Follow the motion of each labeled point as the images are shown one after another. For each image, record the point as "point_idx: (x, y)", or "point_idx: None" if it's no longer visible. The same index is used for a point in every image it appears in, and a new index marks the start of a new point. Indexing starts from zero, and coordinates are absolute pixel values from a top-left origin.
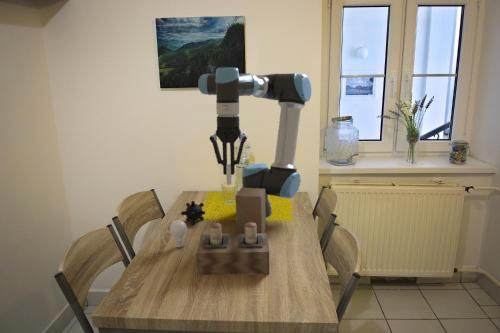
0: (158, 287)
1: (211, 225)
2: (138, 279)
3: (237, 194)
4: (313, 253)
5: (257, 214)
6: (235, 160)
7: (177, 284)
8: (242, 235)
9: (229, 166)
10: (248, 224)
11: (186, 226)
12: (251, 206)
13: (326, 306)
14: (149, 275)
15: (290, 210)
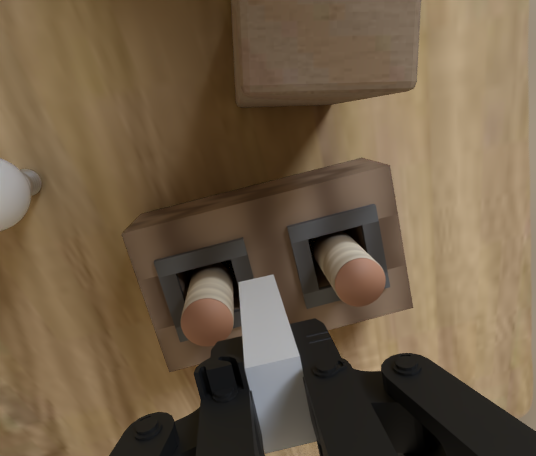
0: (101, 407)
1: (190, 327)
2: (21, 390)
3: (251, 72)
4: (515, 125)
5: (356, 98)
6: (385, 423)
7: (145, 384)
8: (293, 206)
9: (302, 443)
10: (350, 282)
11: (19, 186)
12: (335, 96)
13: (523, 375)
14: (39, 366)
15: None
